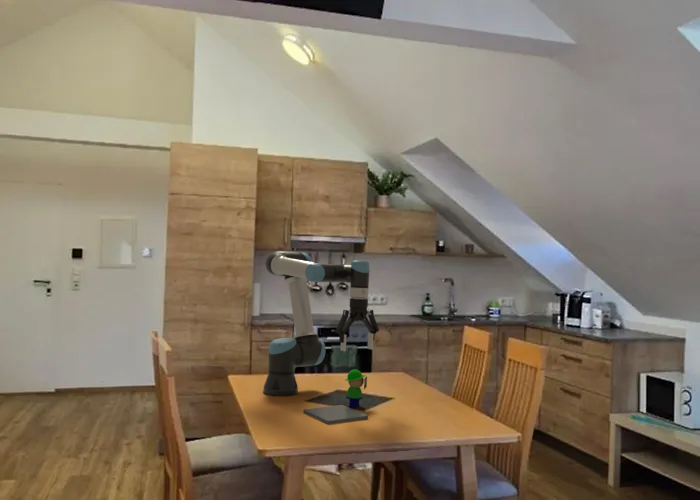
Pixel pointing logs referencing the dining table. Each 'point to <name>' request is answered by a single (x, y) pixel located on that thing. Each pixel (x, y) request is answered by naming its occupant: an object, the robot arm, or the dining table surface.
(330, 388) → the dining table surface
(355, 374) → the toy
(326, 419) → the plate
